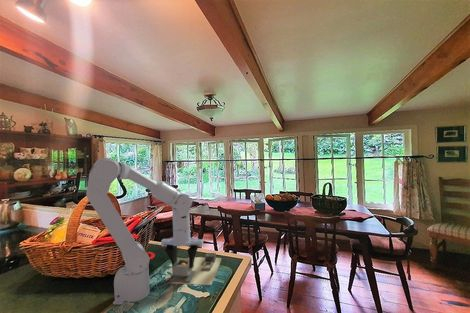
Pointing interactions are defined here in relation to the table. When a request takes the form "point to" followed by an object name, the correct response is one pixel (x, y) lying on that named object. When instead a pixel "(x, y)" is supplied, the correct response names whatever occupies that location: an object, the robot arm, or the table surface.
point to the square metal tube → (181, 267)
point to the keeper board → (204, 270)
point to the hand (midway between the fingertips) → (183, 266)
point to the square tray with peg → (183, 277)
